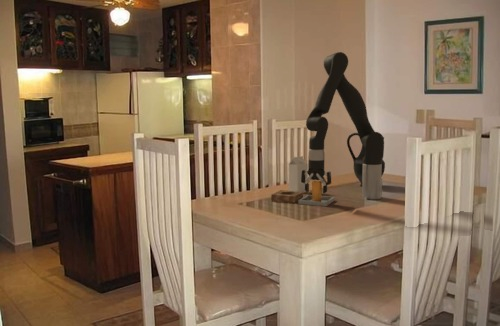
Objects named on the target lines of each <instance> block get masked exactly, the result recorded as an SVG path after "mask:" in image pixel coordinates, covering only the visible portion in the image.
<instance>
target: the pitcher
mask: <svg viewBox="0 0 500 326" xmlns="http://www.w3.org/2000/svg"><path fill="white" fill-rule="evenodd" d="M354 136H358V137H359V135H358V132H353V133H351V134H349V135H348V137H347V138H346V146H347V148H348V151H349V153H350V156H351V158H352V161H353V173H354V176H355V177H356V179H357V181H359V182H360V185H359V186H360V187H361V188H362V174H363V158H364V157H365V150H366V148H365V147H364V146H363V145H361V149H360V152H359V154H358V156H356V155H355V154H354V151H353V148H352V147H351V144H350V140H351V139H352V137H354ZM383 138H384V139H385V137H384V136H383ZM385 168H386V162H385V161H384V158H383V159H382V174H381V178H382V177H383V174H384V172H385Z"/></svg>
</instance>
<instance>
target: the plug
mask: <svg viewBox="0 0 500 326" xmlns="http://www.w3.org/2000/svg"><path fill="white" fill-rule="evenodd" d="M311 184H312V185H311V186H312V187H311V189H312V190H311V195H312V201H317V202H321V197H322V196H323V195H322V194H323V188H322V187H323V186H322V185H323V183H322V182H321V181H320V180H311Z"/></svg>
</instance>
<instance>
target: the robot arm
mask: <svg viewBox="0 0 500 326" xmlns="http://www.w3.org/2000/svg"><path fill="white" fill-rule="evenodd" d="M348 58H349V57H348V56H347V55H346V53H344V52H342V51H337V52H334V53H332V54H330V55H327V56H326V57H325V58H324V60H323V68H324V70H325V72H326V74H327V76H328V78H327V79H326V81H325V83H324V84H323V86H322V88H321V89H320V90H319V93H318V95H317V99H316V102H315V105H314V107H313V108H312V110H311V111H310V113H309V115H308V116H307V118H306V122H305V127H306V129H307V130H308V131H310V132H315V133H316V134H315V135H313V136H311V137H309V140H308V141H309V144H308V157H307V158H308V160H307V162H308V163H307V170H302V176H301V182H302V183H305V191H306V192H305V193H308V192H309V191H310V182H311V181H321V182H322V185H323V186H322V187H323V188H322V194H326V193H327V192H328V186H329V185H331V184H332V171H330V170H329V171H325V159H326V158H325V140H326V137H327V132H328V129H329V121H328V119H327V118H326V117H325V116H323V115H326V114H329V112H330V109H331V106H332V103H333V99H334V97H335V94H336V92H337V93H338V95H339V97H340V99H341V101H342V104H343V106H344V107H345V110H346V111H347V114H348V115H349V118H350V120H351V121H352V123H353V125H354V127H355V130H356V133H358V135H359V136H358V135H357V136H358V137H359V140H360V143H361V144H362V145H363V146H364V147H365V148H366V150H365V157H364V158H363V174H362V187H361V189H362V190H361V197H362V198H365V199H367V200H380V199H382V198H383V178H382V177H381V174H382V159H383V160H384V156H385V155H384V153H385V140H384V139H385V137H384V136H383V135H382V134H381V132H378V131H375V130H374V128H373V126H372V125H371V122H370V121H369V117H368V111H367V106H366V104H365V101H364V99H363V96H362V94H361V93H360V91H359V90H358V89H357V88H356V87H355V86H354V85H353V84H352V83H351V82H350V81H349V80H348V79H347V77H346V76H345V73H346V70H347V68H348V66H349V59H348ZM383 137H384V138H383ZM362 145H361V146H362ZM306 174H307V180H305V176H306ZM324 176H326V178H325V177H324Z"/></svg>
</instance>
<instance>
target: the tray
mask: <svg viewBox="0 0 500 326" xmlns="http://www.w3.org/2000/svg"><path fill="white" fill-rule="evenodd" d="M335 200H336V197H335V196H327V195H322V197H321V202H317V201H312V194H307V195H305V196H303V198H302V199H300V200H298V202H297V203H298V205H306V206H307V205H308V206H318V207H327V206H329V205H330V204H332V203H334V202H335Z"/></svg>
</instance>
